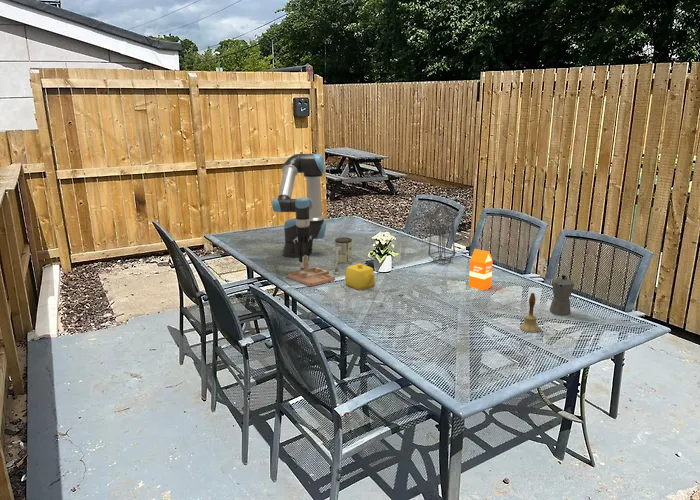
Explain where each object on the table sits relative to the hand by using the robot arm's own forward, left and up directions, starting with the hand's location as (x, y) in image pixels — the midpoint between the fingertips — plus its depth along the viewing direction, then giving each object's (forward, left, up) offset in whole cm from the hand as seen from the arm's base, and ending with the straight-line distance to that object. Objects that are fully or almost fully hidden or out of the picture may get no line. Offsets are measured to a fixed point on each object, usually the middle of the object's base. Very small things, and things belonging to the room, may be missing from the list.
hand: (304, 266), depth 299 cm
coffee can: (-8, +36, -6) cm, 37 cm away
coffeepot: (+123, +56, -6) cm, 135 cm away
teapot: (+33, +13, -6) cm, 36 cm away
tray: (+6, 0, -6) cm, 8 cm away
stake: (+8, +17, -6) cm, 20 cm away
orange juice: (+77, +58, -6) cm, 97 cm away
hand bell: (+124, +28, -6) cm, 127 cm away
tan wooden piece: (+6, 0, -2) cm, 6 cm away
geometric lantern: (+33, +79, -6) cm, 86 cm away
